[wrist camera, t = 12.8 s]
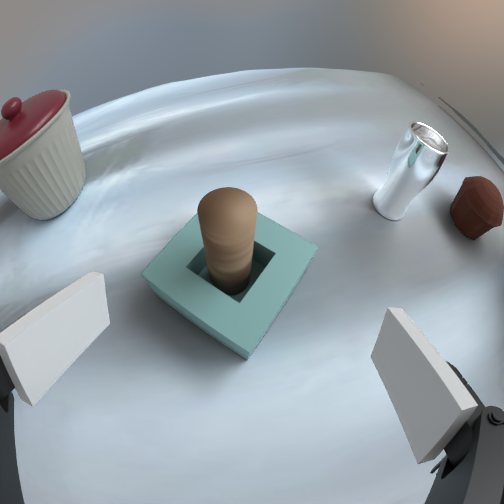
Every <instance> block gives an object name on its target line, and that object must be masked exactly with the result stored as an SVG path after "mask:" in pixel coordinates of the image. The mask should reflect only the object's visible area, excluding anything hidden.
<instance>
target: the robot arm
mask: <svg viewBox="0 0 504 504" xmlns="http://www.w3.org/2000/svg"><path fill="white" fill-rule="evenodd" d="M109 324H110V320H109V314H108V307H107V299H106V291H105V281H104V274H103V273H97V272H92V271H91V272H90V273H88V274H87V275H85V276H83V277H82V278H80V279H78V280H77V281H75V282H74V283H72V284H71V285H69V286H67V287H66V288H64V289H63V290H61V291H60V292H58V293H57V294H55V295H54V296H52V297H51V298H49V299H48V300H46V301H45V302H43V303H42V304H40V305H39V306H37V307H36V308H34V309H33V310H31V311H30V312H29V313H27V314H25V315H23V316H22V317H21V318H19V319H18V320H17V321H15V322H14V323H12V325H9V326H8V327H7V328H5V329H4V330H3V331H1V332H0V504H24V500H23V495H22V490H21V485H20V480H19V474H18V467H17V459H16V449H15V436H14V396H13V394H12V392H11V391H12V390H13V389H14V388H15V389H16V390H17V392H18V394H19V396H20V398H21V399H22V400H23V401H25V402H26V403H28V404H29V405H31V406H33V407H34V406H35V405H36V404H37V403H38V402H39V400H40V399H41V398H42V397H43V396H44V395H45V393H46V392H47V391H48V390H49V389H50V388H51V387H52V385H53V384H54V383H55V382H56V381H57V380H58V379H59V378H60V376H61V375H62V374H63V373H64V372H65V371H66V370H67V369H68V368H69V367H70V365H71V364H72V363H73V362H74V361H75V360H76V359H77V358H78V357H79V356H80V355H81V354H82V353H83V351H84V350H85V349H86V348H87V347H88V346H89V345H90V344H91V343H92V342H93V341H94V340H95V339H96V338H97V337H98V336H99V335H100V334H101V333H102V332H103V331H104V329H105V328H106V327H107V326H108V325H109ZM371 358H372V361H373V363H374V365H375V367H376V369H377V371H378V373H379V375H380V377H381V379H382V381H383V384H384V386H385V388H386V390H387V392H388V394H389V397H390V399H391V401H392V403H393V406H394V408H395V410H396V412H397V415H398V417H399V419H400V422H401V424H402V426H403V429H404V431H405V433H406V436H407V438H408V441H409V443H410V446H411V448H412V451H413V453H414V456H415V458H416V461H417V464H420V463H423V462H427V461H430V460H433V459H435V458H436V457H437V456H438V455H439V454H440V453H441V451H442V450H443V449H444V450H445V452H446V454H447V455H446V456H445V457H444V458H443V459H442V460H441V461H440V462H439V463H438V464H437V465H436V466H435V467H434V468H433V469H432V471H431V472H430V473H434V472H435V471H436V470H437V469H438V468H439V470H438V473H437V474H436V478H435V480H434V483H433V485H432V488H431V490H430V493H429V495H428V497H427V499H426V502H425V504H504V411H502V410H501V409H500V408H498V407H495V406H488V407H485V406H484V405H483V403H482V402H481V400H480V399H479V398H478V396H477V395H476V393H475V392H474V391H473V389H472V388H471V387H470V385H469V384H468V385H467V381H466V380H465V379H464V378H462V375H461V374H460V372H459V371H458V370H457V368H455V367H454V366H453V365H451V364H450V363H449V362H447V361H445V360H444V358H443V357H442V356H441V355H440V353H439V352H438V351H437V350H436V348H435V347H434V346H433V345H432V344H431V342H430V341H429V340H428V339H427V337H426V336H425V335H424V334H423V333H422V331H421V330H420V329H419V328H418V327H417V326H416V324H415V323H414V322H413V321H412V320H411V319H410V317H409V316H408V315H407V314H406V313H405V312H404V311H403V310H402V308H387V311H386V314H385V317H384V320H383V324H382V327H381V329H380V332H379V335H378V338H377V341H376V344H375V346H374V349H373V352H372V354H371Z"/></svg>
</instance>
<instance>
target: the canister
mask: <svg viewBox="0 0 504 504" xmlns="http://www.w3.org/2000/svg"><path fill="white" fill-rule="evenodd" d="M69 101H70V93H69V92H68V91H66V90H49V91H45V92H42V93H39V94H37V95H35V96H33V97H31V98H29V99H27V100H26V101H24V102H21V100H20V99H19V98H17V97H14V98H11V99H10V100H8V101H7V102H6V103H5V104H4V105H3V107H2V110H1V115H2V117H3V118H2V119H1V120H0V189H1V190H2V192H3V193H4V194H5V195H6V196H7V197H8V198H9V199H10V200H11V201H12V202H13V203H15V204H16V205H17V206H18V207H19V208H20V209H21V210H22V211H23V212H25V213H26V214H27V215H29V216H30V217H32V218H34V219H38V220H46V219H50V218H54V217H55V216H58V215H59V214H60V213H63V211H65V210H67V208H68V207H70V206H71V204H72V203H74V202H75V200H76V199H77V198H78V196H79V194H80V193H81V190H82V189H83V186H84V184H85V179H86V168H85V163H84V159H83V156H82V152H81V149H80V145H79V141H78V138H77V134H76V131H75V127H74V123H73V119H72V116H71V112H70V108H69Z"/></svg>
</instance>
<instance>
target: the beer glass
mask: <svg viewBox="0 0 504 504" xmlns="http://www.w3.org/2000/svg"><path fill="white" fill-rule="evenodd" d="M449 152H450V148H449V145H448V144H447V142H446V141H445V139H444V138H443V137H442V136H441V135H440V134H439V133H438V132H436V131H435V130H434V129H432V128H431V127H429V126H427V125H425V124H423V123H420V122H415V121H413V122H410V123H409V126H408V127H407V129H406V131H405V132H404V134H403V136H402V137H401V139H400V141H399V143H398V144H397V147H396V149H395V151H394V153H393V156H392V159H391V162H390V166H389V169H388V173H387V176H386V179H385V181H384V183H383V185H382V186H381V187H380V188H379V189H378V190H377V191H376V193H375V194H374V196H373V204H374V207H375V208H376V210H377V211H378V212H379V213H380V214H381V215H382V216H384V217H385V218H387V219H389V220H394V221H396V220H400V219H401V218H403V216H404V214H405V212H406V210H407V208H408V206H409V204H410V202H411V201H412V200H413V199H414V198H415V197H416V196H417V195H418V194H419V193H420V192H421V191H423V190H424V189H425V188H426V187H427V186H428V185H429V184H430V183H431V181H432V180H433V179H434V178H435V176H436V175H437V173H438V172H439V170H440V169H441V167H442V165H443V163H444V161H445V159H446V157H447V155H448V154H449Z"/></svg>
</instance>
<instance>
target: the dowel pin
mask: <svg viewBox="0 0 504 504" xmlns="http://www.w3.org/2000/svg"><path fill="white" fill-rule="evenodd" d="M197 212H198V219H199V224H200V230H201V235H202V240H203V245H204V250H205V255H206V260H207V265H208V270H209V275H210V279H211V283H212V285H213V286H214V287H216V288H217V289H219V290H220V291H222V292H223V293H225V294H226V295H229V296H231V295H237V294H239V293H241V292H243V291H244V290H245V289H246V288H247V286H248V284H249V281H250V274H251V264H252V255H253V246H254V237H255V228H256V218H257V205H256V202H255V201H254V199H253V198H252V197H251V196H250V195H249V194H248V193H246V192H245V191H243V190H240V189H237V188H231V187H226V188H219V189H216V190H213V191H211V192H209V193H208V194H206V195H205V196H204V197H203V198H202V200H201V201H200V203H199V205H198V210H197Z"/></svg>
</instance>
